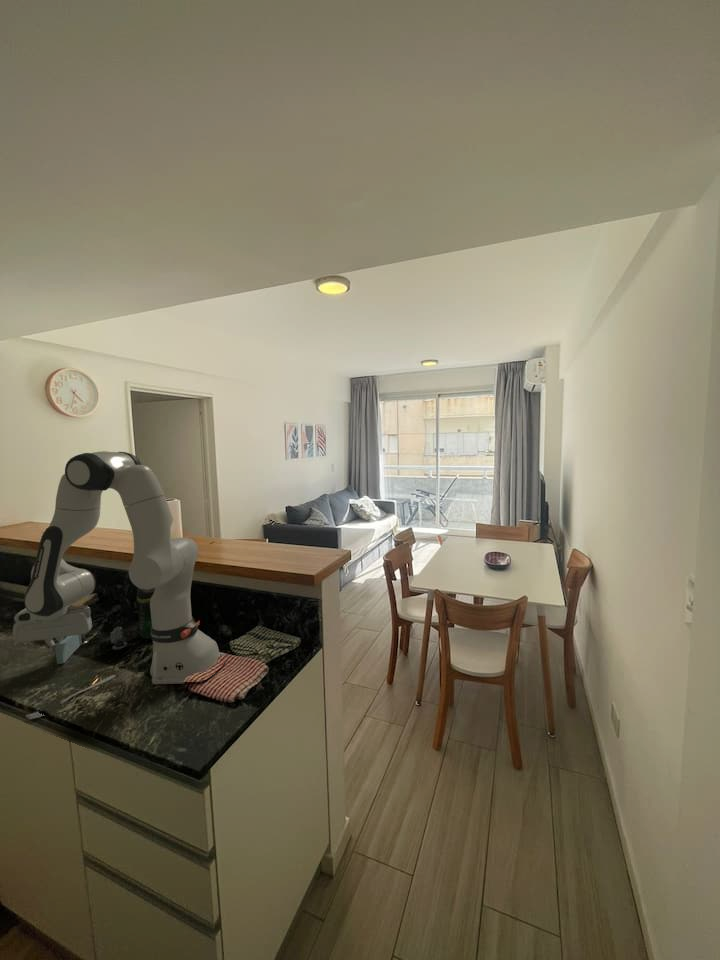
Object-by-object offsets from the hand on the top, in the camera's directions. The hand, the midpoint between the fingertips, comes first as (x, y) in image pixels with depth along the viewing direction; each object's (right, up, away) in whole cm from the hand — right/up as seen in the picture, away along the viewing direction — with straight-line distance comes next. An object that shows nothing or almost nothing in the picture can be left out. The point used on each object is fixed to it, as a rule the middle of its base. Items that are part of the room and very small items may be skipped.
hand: (55, 649), depth 121 cm
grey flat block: (+1, -3, +4) cm, 5 cm away
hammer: (+14, -3, +9) cm, 17 cm away
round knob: (-1, -3, +12) cm, 12 cm away
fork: (+20, -6, -16) cm, 26 cm away
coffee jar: (+23, -2, +17) cm, 29 cm away
